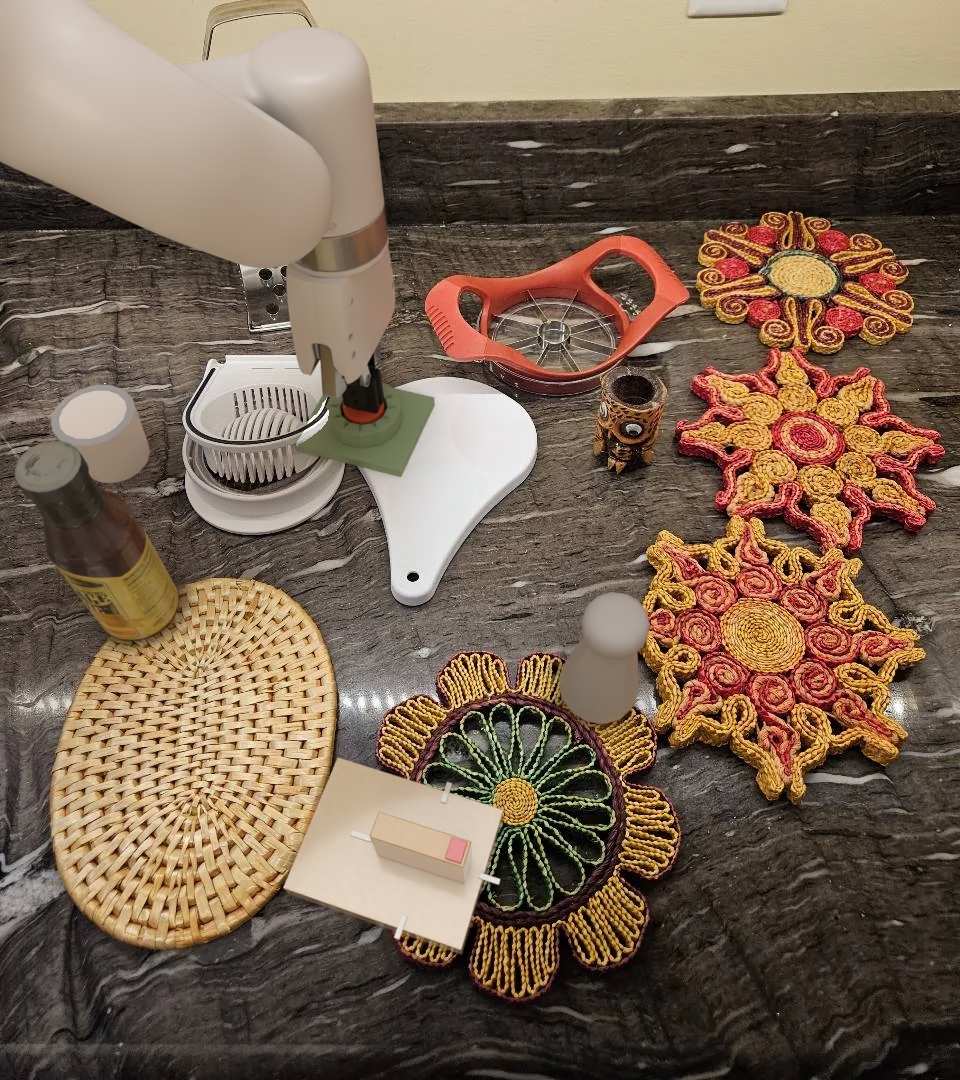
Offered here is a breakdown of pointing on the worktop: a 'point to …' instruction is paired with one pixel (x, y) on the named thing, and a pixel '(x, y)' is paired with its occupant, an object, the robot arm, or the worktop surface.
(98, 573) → the sauce bottle
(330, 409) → the button block
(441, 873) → the tap handle
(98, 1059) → the worktop surface
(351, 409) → the button
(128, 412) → the beige grey-rimmed cylinder
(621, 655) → the salt shaker
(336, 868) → the block
